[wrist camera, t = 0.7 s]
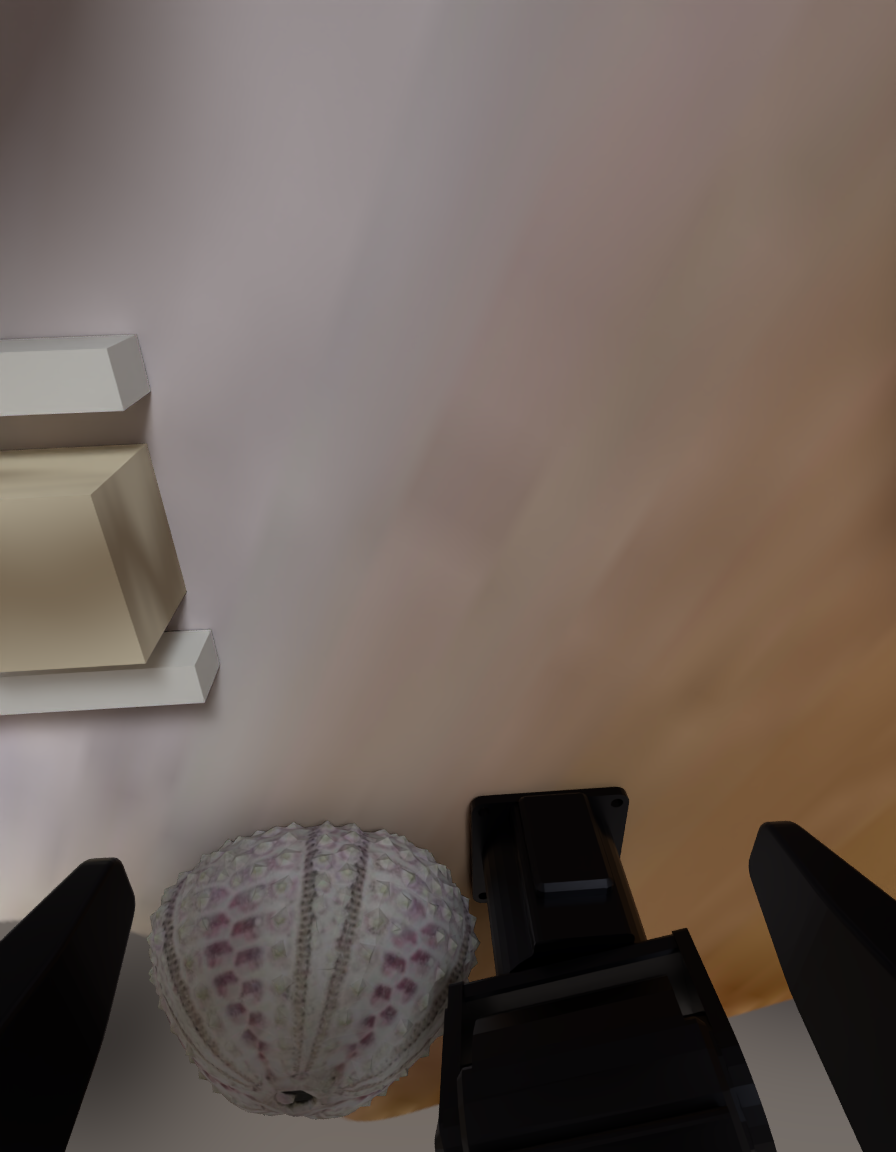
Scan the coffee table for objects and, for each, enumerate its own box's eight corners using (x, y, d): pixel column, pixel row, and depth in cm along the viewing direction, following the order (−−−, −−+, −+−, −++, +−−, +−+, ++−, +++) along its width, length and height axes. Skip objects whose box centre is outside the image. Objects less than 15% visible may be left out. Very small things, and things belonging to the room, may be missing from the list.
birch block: (187, 589, 21) (145, 663, 18) (32, 598, 21) (-41, 674, 18) (148, 442, 19) (90, 494, 15) (-28, 450, 19) (-127, 506, 15)
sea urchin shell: (526, 892, 30) (563, 1096, 23) (318, 1004, 34) (297, 1209, 27) (327, 737, 25) (297, 943, 18) (104, 890, 28) (8, 1112, 21)
